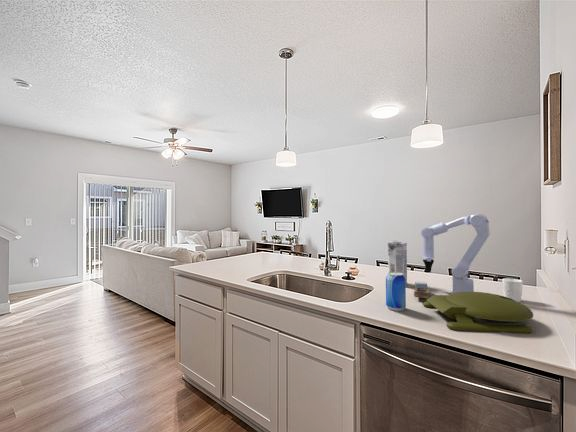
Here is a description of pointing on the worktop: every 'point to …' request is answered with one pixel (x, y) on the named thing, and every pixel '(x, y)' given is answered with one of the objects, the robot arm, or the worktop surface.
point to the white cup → (512, 288)
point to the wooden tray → (421, 293)
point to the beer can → (395, 291)
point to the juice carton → (397, 258)
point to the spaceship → (481, 311)
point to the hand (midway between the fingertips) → (428, 272)
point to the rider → (421, 285)
